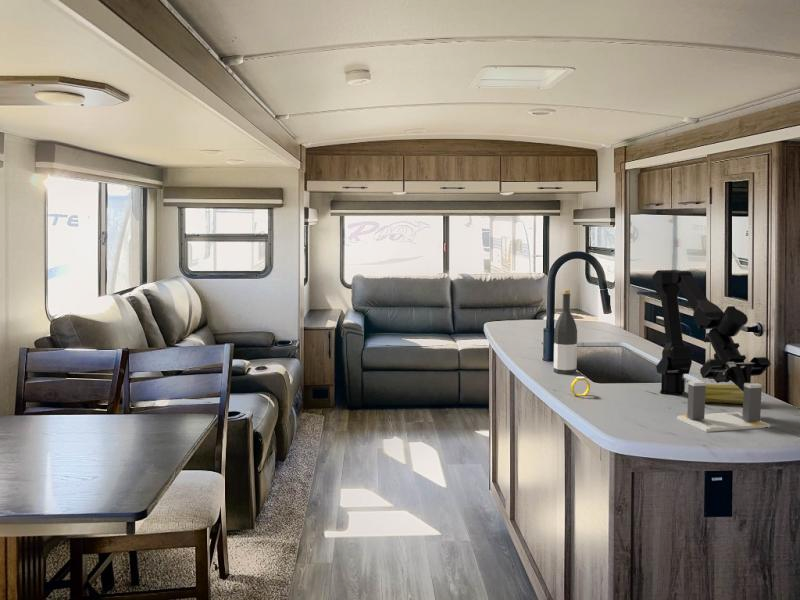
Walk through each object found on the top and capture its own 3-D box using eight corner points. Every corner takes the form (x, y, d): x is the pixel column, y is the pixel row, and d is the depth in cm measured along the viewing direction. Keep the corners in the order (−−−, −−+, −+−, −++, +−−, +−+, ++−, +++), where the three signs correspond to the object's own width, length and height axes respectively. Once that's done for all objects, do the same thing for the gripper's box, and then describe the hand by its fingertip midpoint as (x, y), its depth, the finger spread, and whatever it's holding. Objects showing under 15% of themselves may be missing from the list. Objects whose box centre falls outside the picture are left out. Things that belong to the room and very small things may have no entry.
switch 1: (687, 417, 200) (688, 381, 199) (698, 416, 201) (700, 380, 200) (692, 419, 198) (694, 383, 197) (704, 418, 198) (705, 382, 197)
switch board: (677, 418, 203) (677, 415, 203) (737, 414, 206) (738, 411, 206) (705, 431, 190) (706, 428, 190) (769, 427, 194) (770, 423, 194)
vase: (746, 381, 220) (695, 380, 224) (749, 387, 214) (697, 386, 218) (745, 400, 221) (694, 399, 225) (749, 407, 215) (696, 406, 219)
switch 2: (742, 419, 197) (744, 383, 196) (753, 418, 198) (755, 382, 197) (748, 422, 195) (750, 385, 194) (760, 421, 196) (761, 384, 195)
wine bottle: (554, 374, 262) (555, 290, 259) (553, 369, 270) (554, 288, 266) (577, 374, 260) (578, 291, 257) (575, 370, 268) (577, 288, 265)
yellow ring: (574, 398, 228) (573, 379, 227) (570, 396, 231) (569, 377, 230) (591, 395, 229) (590, 377, 229) (587, 393, 232) (586, 375, 231)
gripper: (739, 361, 215) (763, 407, 205) (682, 363, 211) (703, 410, 202) (758, 338, 206) (784, 385, 197) (699, 341, 203) (723, 389, 193)
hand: (748, 393), depth 197 cm, fingers closed, pressing on switch 2
